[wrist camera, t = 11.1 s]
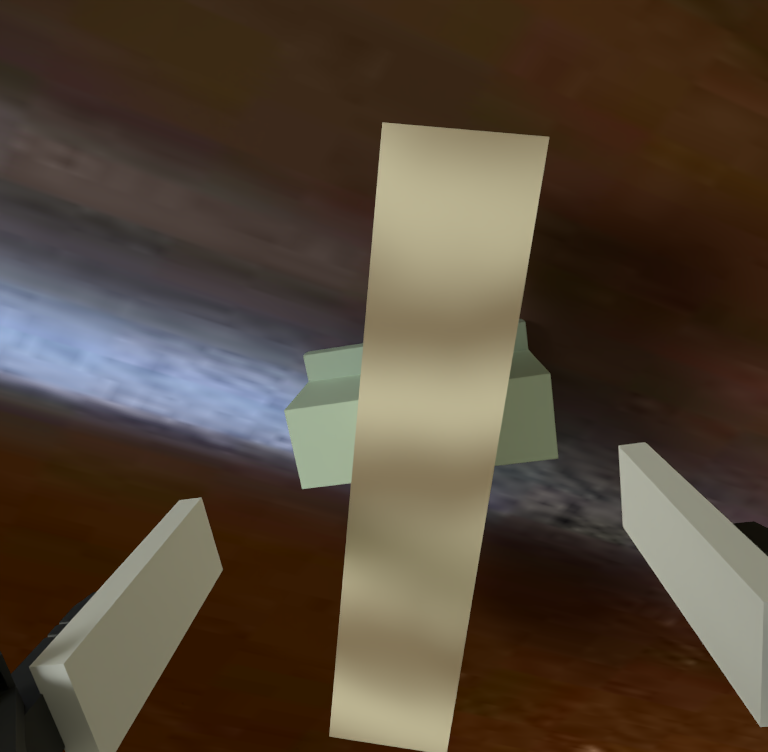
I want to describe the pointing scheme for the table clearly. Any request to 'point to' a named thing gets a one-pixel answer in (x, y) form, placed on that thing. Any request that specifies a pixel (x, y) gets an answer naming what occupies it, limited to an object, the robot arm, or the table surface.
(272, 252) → the table surface
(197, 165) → the table surface
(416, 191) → the beam
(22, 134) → the table surface
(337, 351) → the stepped block
